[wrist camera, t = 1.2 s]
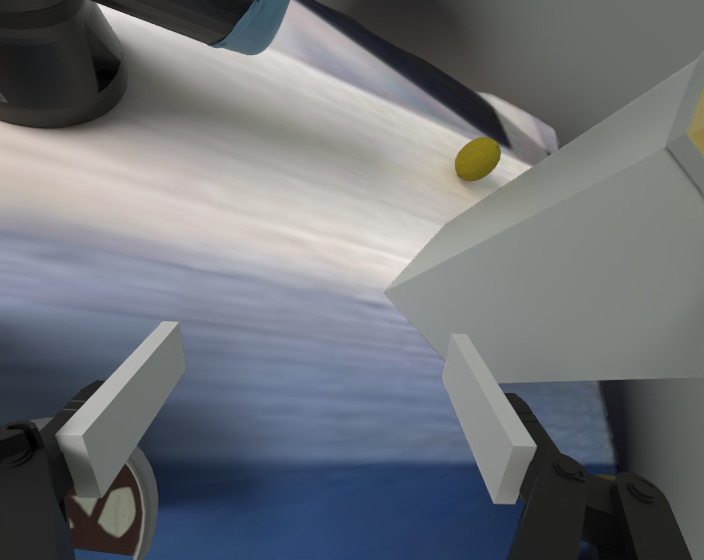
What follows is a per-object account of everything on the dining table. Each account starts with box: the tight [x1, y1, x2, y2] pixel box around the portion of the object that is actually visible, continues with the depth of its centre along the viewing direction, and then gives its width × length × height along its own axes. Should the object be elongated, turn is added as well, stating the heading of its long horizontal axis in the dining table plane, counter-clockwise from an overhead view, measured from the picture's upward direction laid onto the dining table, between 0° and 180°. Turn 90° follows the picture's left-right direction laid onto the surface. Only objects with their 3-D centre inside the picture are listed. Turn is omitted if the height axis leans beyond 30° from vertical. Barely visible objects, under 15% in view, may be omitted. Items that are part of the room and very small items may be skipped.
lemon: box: [455, 137, 501, 181], centre depth 52 cm, size 6×6×8 cm
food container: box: [29, 417, 158, 560], centre depth 23 cm, size 12×6×10 cm, turn 75°
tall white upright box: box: [383, 51, 704, 384], centre depth 34 cm, size 16×16×30 cm
